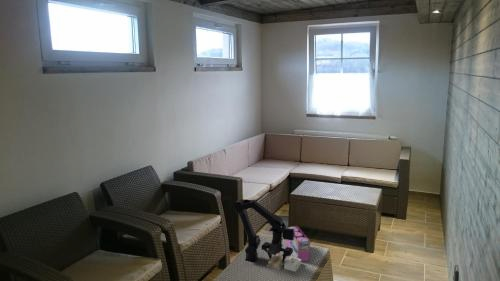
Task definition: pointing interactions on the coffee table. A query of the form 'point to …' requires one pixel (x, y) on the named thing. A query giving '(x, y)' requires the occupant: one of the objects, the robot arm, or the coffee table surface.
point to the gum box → (299, 244)
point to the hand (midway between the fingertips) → (276, 261)
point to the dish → (292, 264)
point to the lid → (276, 261)
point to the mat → (279, 267)
